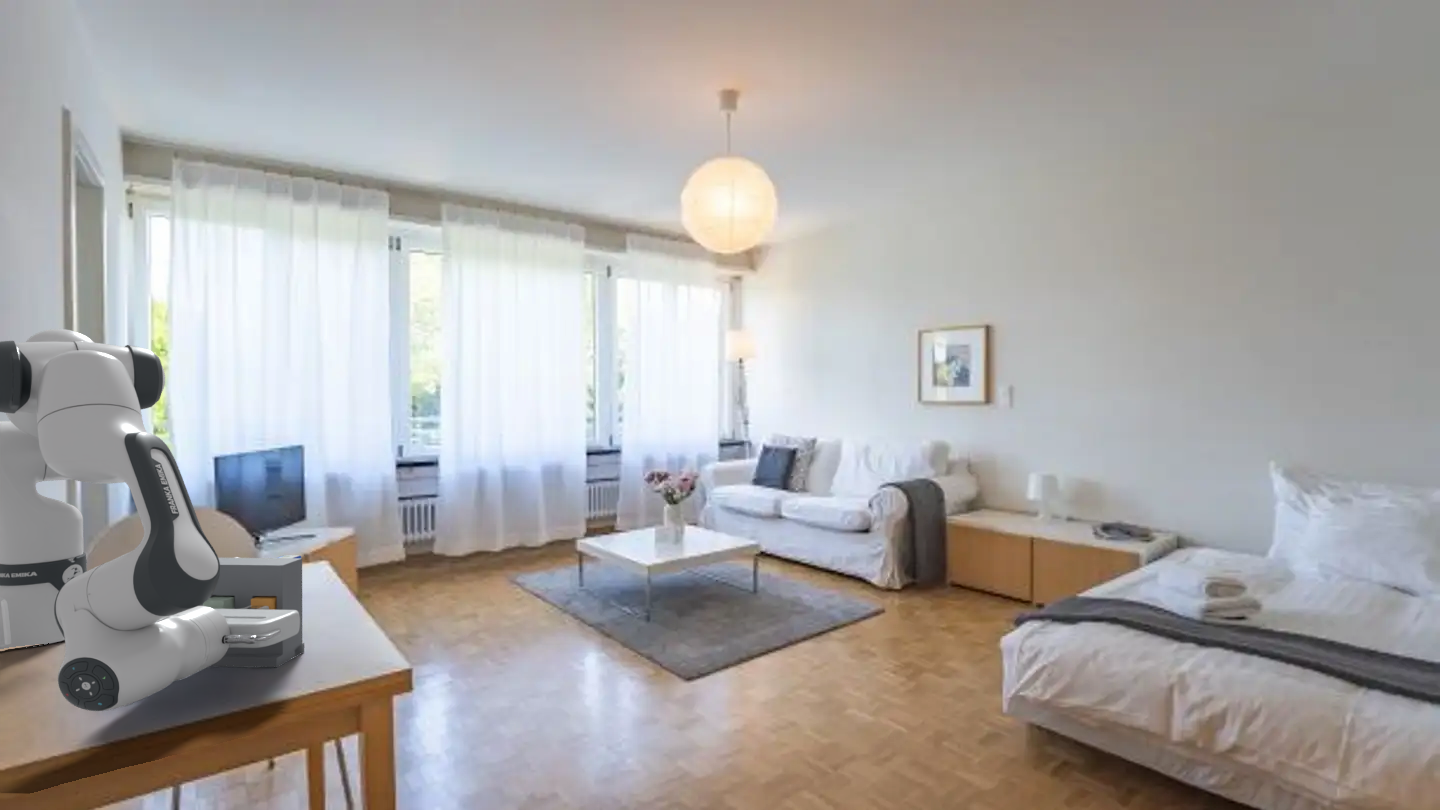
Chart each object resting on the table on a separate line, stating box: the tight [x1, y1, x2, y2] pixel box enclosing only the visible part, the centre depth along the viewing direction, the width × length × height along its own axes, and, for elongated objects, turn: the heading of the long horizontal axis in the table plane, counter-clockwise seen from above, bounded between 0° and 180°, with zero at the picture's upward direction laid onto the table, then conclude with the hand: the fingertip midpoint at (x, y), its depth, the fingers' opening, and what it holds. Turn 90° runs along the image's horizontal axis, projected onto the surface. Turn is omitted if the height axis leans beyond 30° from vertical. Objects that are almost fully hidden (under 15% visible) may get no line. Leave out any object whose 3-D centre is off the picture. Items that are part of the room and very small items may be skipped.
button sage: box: [203, 596, 235, 609], centre depth 113 cm, size 3×3×3 cm
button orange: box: [251, 596, 277, 610], centre depth 114 cm, size 3×3×3 cm
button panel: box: [199, 557, 305, 668], centre depth 115 cm, size 20×7×16 cm, turn 88°
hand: (260, 610), depth 112 cm, fingers closed, pressing on button orange
